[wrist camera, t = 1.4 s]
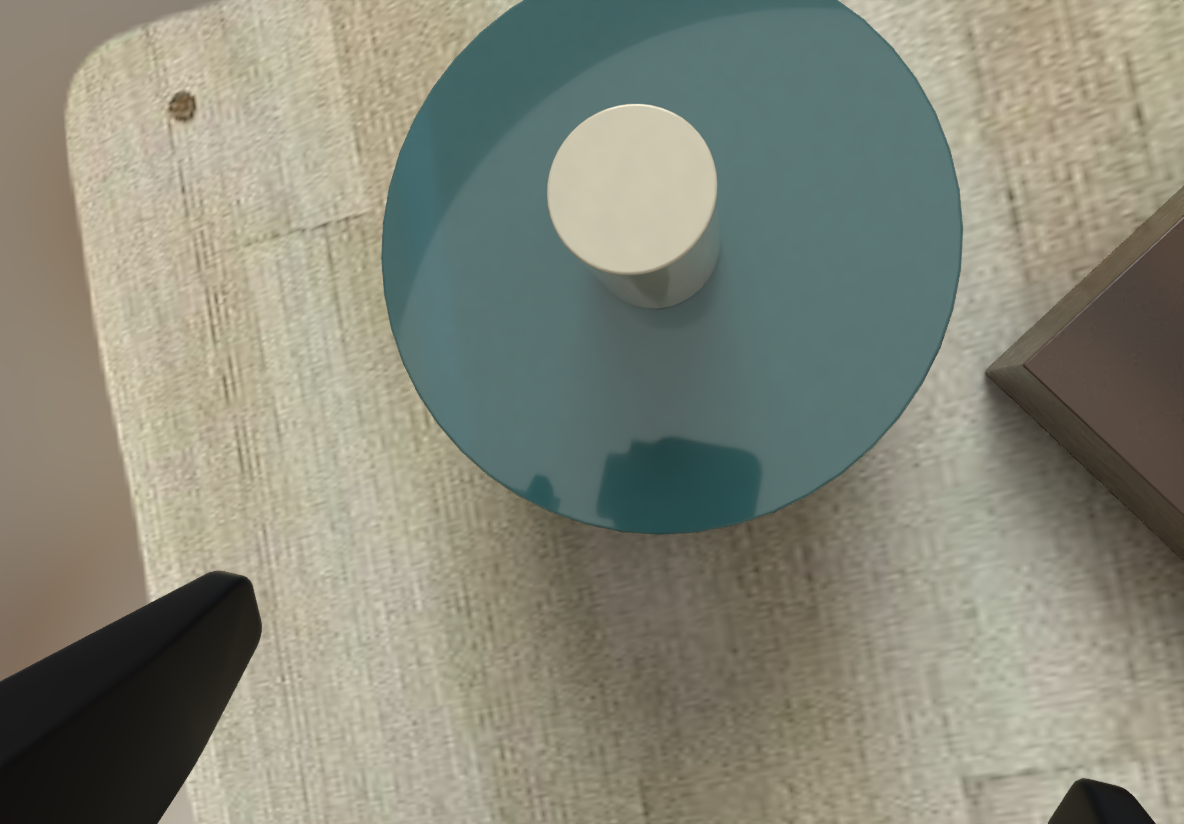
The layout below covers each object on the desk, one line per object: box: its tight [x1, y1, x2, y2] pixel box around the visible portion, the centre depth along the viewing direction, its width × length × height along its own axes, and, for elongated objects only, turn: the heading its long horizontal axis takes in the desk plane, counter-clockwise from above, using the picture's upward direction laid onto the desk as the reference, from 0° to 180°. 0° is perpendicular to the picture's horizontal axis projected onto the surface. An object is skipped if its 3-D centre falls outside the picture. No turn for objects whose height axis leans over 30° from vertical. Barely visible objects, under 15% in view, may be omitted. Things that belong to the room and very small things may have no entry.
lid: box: [381, 0, 963, 535], centre depth 15 cm, size 12×12×5 cm
